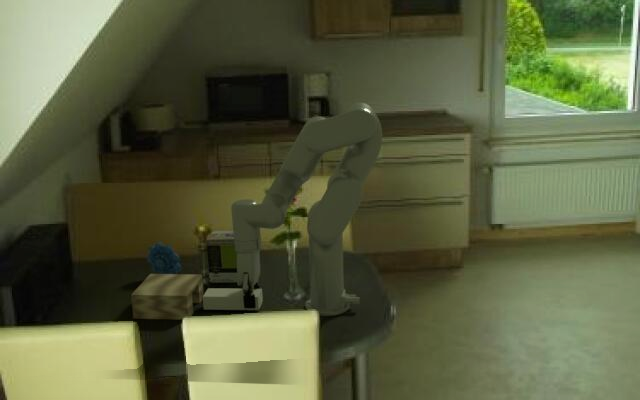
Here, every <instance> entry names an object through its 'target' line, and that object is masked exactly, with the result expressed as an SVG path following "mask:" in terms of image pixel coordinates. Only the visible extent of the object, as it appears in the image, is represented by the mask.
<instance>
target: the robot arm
mask: <svg viewBox="0 0 640 400" xmlns="http://www.w3.org/2000/svg"><path fill="white" fill-rule="evenodd" d="M382 144H383V130H382V124H381V121H380V119H379V117H378V115H377V113H376V112H375V110H374V108H372V107H371V106H370V105H369V104H367V103H366V102H355V103H353V104H351V105H349V106H348V108H346V111H345V112H343V113H341V114H336V115H334V116H331V117H328V118H326V117H324V116H319V115H317V116H312V117H311V118H309V119H308V120H307V121H306V122H305V123H304V125H303V127H302V128H301V131H300V133H299V134H298V135H297V138H296V139H295V141H294V143H293V144H292V146H291V148H290V150H289V152H288V153H287V155H286V157H285V159H284V160H283V163H282V164H281V166H280V169H279V171H278V173H277V175H276V176H275V178H274V180H273V182H272V183H271V185H270V187H269V188H268V190H267V192H266V194H265V196H264V197H263V199H262V202H261V203H258V202H257V201H256V200H254V199H250V198H248V199H245V198H244V199H238V200H236V201H233V202H232V204H231V207H230V209H231V210H230V211H231V221H232V230H233V235H234V247H235V251H237V281H238V282H237V286H239V287H240V286H242V289H243V299H244V308H255V307H256V305H255V294H254V289H261V288H260V285H259V284H260V279H259V277H260V275H261V259H259V254H260V250H261V249H262V237H261V235H262V234H261V228H262V229H269V230H271V229H272V230H273V229H278V228H280V227H282V225H283V224H284V222H285V220H286V215H287V212H288V209H289V207H290V206H291V203H292V202H293V200H294V198H295V197H296V195H297V194H298V192H299V191H300V189H301V187H302V186H303V185H304V184H305V183H306V182H308V181H309V180H310V179H311V177H312V176H313V174H314V173H315V171H316V169H317V167H318V165H319V164H320V162H321V161H322V158H323V157H324V155H325V154H326V153H329V152H332V151H335V150H336V151H337V150H339V149H343V148H346V147H347V148H346V149H345V151H344V153H343V156H342V157H341V159H340V161H339V163H338V164H337V166H336V168H335V169H334V171H332V174H331V175H330V177H329V178H328V180H327V184H326V190H325V191H324V194H323V196H322V197H321V198H320V200H318V201H316V202H314V203H313V204H312V205H311V207H310V209H309V211H308V213H307V223H306V230H307V233H308V253H309V255H308V256H309V257H308V258H309V259H308V260H309V285H310V286H309V287H310V289H309V290H310V299H308V300H306V302H305V305H304V306H305V309H316V310H318V311H319V312H320V316H319V317H331V316H332V317H334V316H339V315H342V314H344V313H346V312H347V311H348V310H349V309H350V304H354V305H360V297H359V296H357V295H356V294H348V293H346V288H345V287H344V242H343V241H344V240H343V239H344V237H343V235H344V234H343V233H344V231H345V230H346V228H347V227H348V225H349V224H350V222H351V221H352V219H353V216H354V215H355V213H356V212H357V210H358V208H359V206H360V204H361V202H362V199H363V197H364V188H363V187H364V184H365V182H366V180H367V178H368V176H369V175H370V173H371V171H372V169H373V167H374V165H375V164H376V161H377V159H378V158H379V154H380V153H381V149H382ZM248 282H249V283H248ZM250 289H251V290H250Z"/></svg>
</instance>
